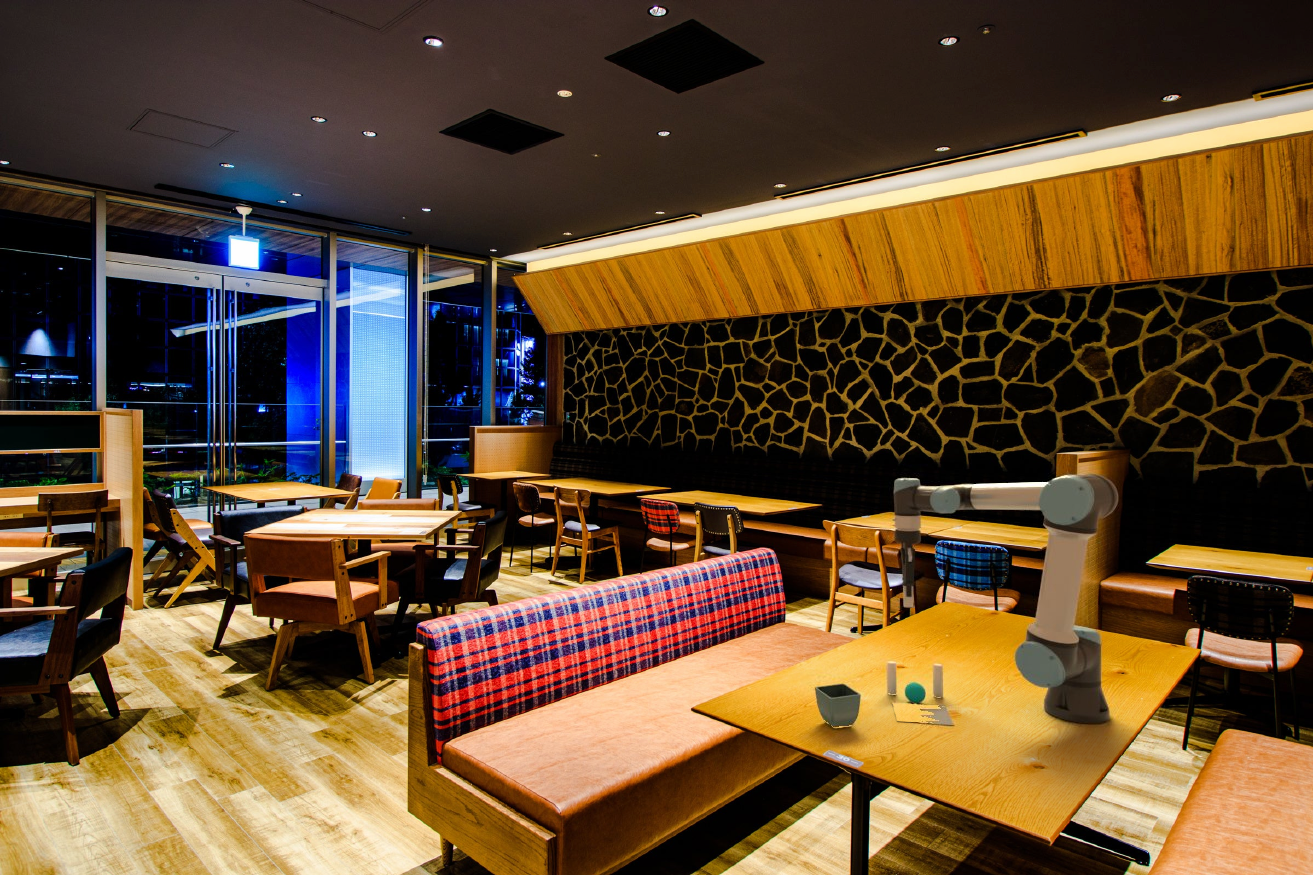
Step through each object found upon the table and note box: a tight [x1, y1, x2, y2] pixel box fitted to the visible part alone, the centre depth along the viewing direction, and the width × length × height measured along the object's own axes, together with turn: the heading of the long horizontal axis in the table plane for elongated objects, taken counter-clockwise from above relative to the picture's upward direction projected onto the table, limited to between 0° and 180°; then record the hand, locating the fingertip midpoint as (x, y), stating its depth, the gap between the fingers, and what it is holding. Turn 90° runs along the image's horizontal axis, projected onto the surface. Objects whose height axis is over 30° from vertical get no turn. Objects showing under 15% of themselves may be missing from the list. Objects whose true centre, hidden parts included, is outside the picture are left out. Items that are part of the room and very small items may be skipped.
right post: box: [932, 663, 944, 698], centre depth 205 cm, size 3×3×9 cm
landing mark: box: [920, 704, 955, 727], centre depth 193 cm, size 14×14×1 cm
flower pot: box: [814, 683, 862, 727], centre depth 186 cm, size 9×9×9 cm
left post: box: [886, 660, 898, 694], centre depth 208 cm, size 3×3×9 cm
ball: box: [904, 681, 927, 704], centre depth 201 cm, size 6×6×6 cm
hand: (908, 606), depth 220 cm, fingers closed
